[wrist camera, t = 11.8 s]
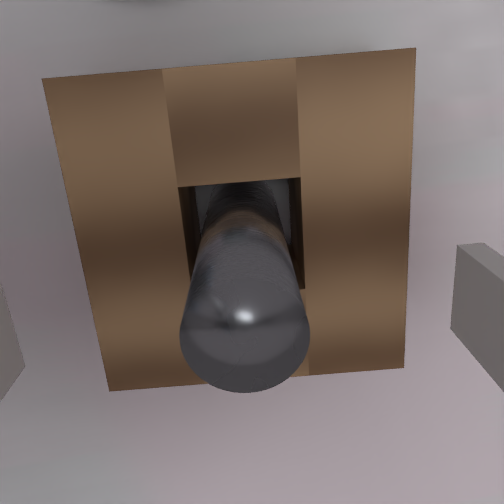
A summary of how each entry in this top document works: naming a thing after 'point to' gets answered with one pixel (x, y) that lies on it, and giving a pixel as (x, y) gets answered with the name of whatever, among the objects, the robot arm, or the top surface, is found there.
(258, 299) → the long pin
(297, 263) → the socket block
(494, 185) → the top surface
